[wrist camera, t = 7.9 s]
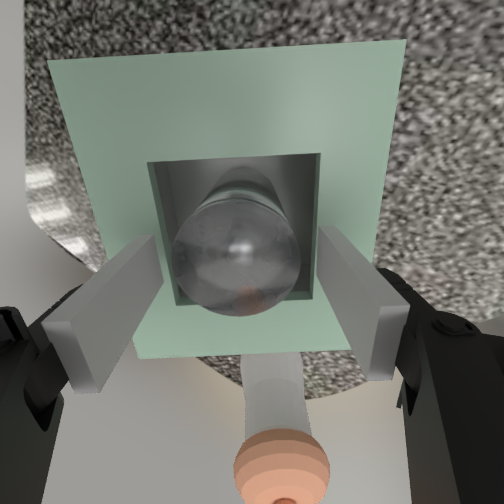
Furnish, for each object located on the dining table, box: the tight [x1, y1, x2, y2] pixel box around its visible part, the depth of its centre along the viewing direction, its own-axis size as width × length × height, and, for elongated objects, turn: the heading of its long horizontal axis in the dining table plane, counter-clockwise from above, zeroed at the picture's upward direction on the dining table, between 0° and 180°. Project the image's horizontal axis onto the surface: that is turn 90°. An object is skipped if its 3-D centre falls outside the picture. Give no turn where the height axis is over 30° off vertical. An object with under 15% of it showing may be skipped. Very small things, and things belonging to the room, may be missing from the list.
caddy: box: [47, 39, 407, 359], centre depth 21 cm, size 18×16×13 cm
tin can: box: [171, 168, 301, 317], centre depth 18 cm, size 6×6×12 cm
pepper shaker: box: [234, 352, 330, 504], centre depth 25 cm, size 7×7×19 cm
